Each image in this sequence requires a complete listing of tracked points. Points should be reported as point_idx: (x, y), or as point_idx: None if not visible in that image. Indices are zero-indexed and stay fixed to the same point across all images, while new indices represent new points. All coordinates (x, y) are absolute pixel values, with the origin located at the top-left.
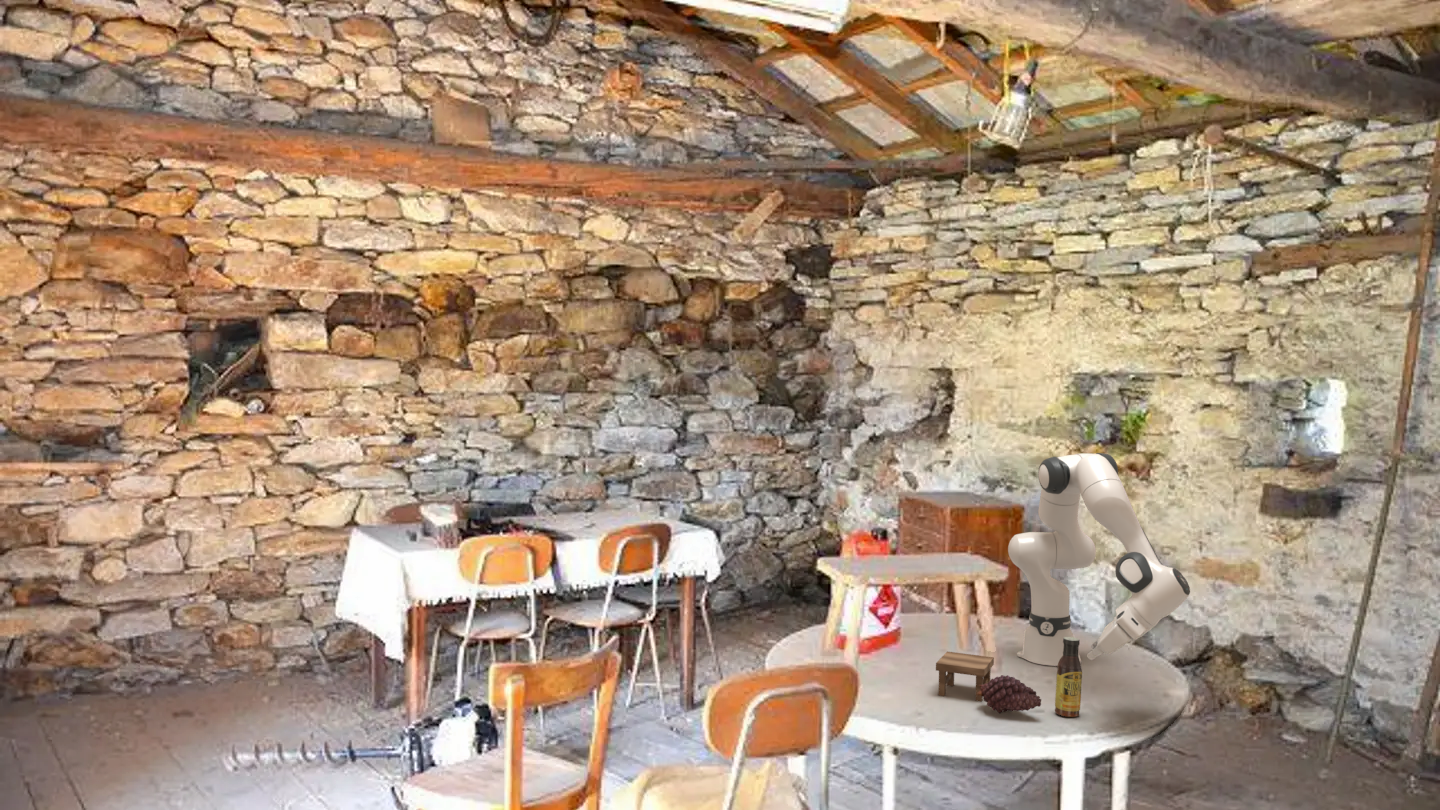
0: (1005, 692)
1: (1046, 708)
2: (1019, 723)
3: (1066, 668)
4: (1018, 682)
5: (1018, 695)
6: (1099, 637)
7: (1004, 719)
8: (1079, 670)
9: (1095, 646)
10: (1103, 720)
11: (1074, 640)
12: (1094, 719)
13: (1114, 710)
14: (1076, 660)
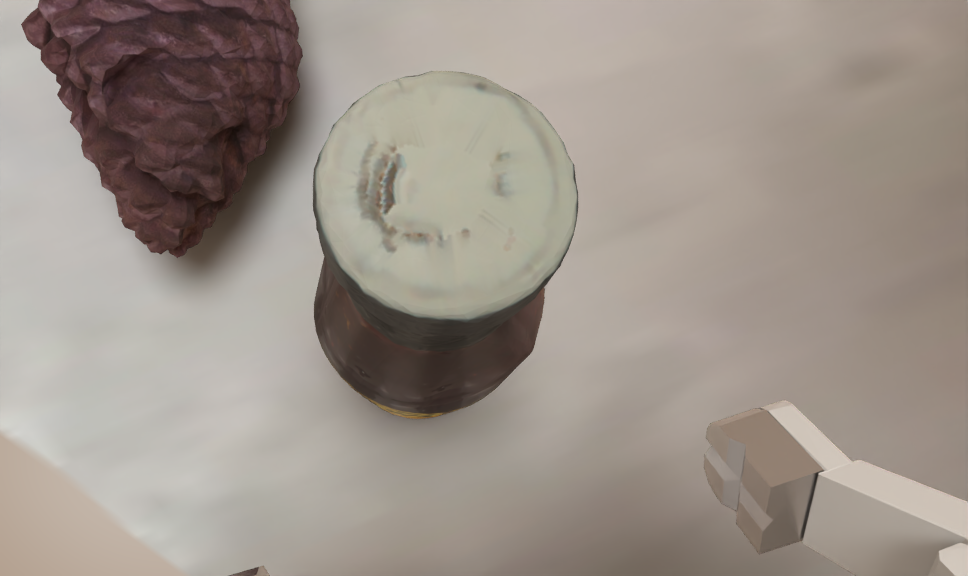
0: (40, 40)
1: None
2: (98, 215)
3: (325, 298)
4: (90, 55)
5: (78, 119)
6: (926, 511)
7: None
8: (396, 405)
9: (741, 478)
10: (462, 554)
11: (359, 274)
12: (443, 505)
13: (681, 528)
14: (395, 359)
